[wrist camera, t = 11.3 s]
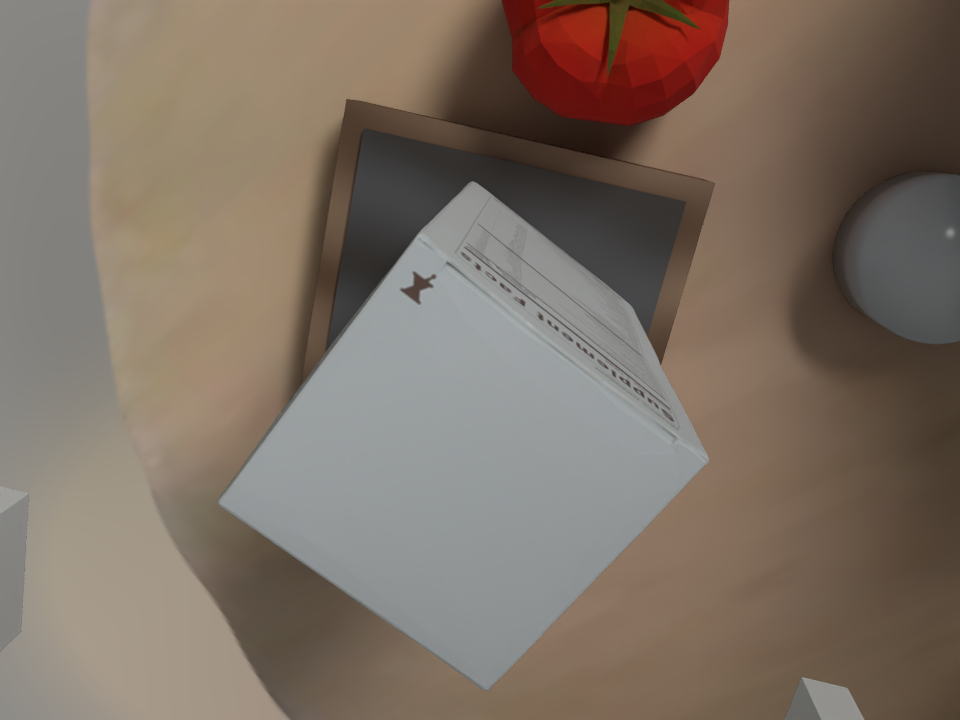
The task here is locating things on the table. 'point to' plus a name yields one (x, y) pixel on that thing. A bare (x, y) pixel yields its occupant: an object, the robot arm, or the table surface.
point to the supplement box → (473, 441)
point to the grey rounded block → (905, 256)
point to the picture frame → (521, 187)
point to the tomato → (614, 54)
